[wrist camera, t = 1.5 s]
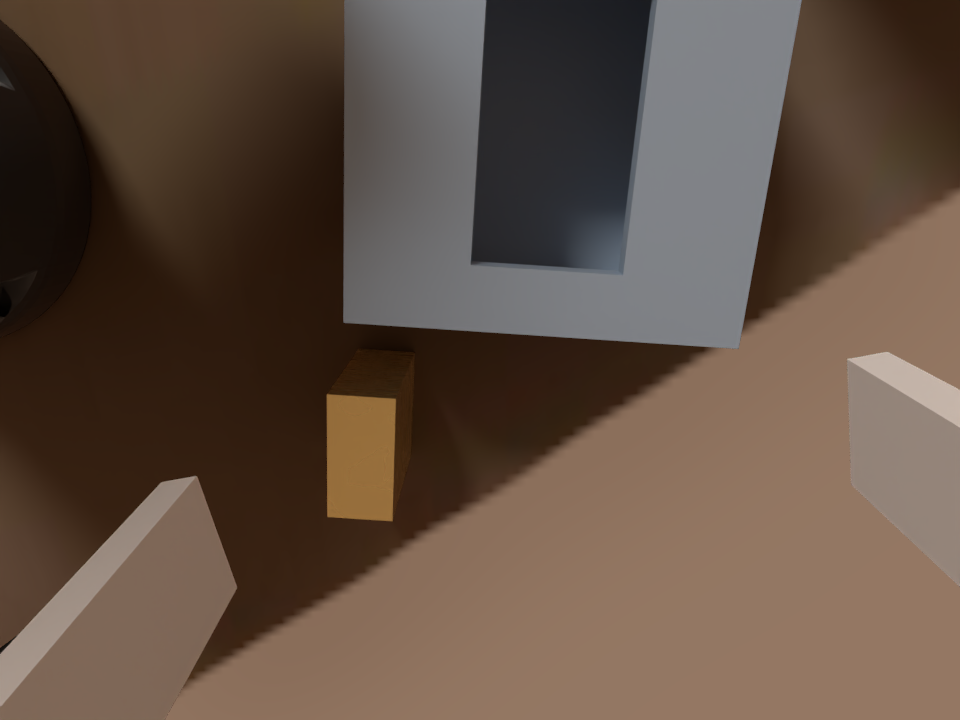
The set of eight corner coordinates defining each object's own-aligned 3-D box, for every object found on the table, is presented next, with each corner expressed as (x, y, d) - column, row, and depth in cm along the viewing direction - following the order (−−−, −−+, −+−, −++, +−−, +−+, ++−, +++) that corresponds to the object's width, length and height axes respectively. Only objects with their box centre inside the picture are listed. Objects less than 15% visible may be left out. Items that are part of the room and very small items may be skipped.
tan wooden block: (357, 451, 32) (327, 517, 26) (359, 348, 30) (326, 394, 25) (411, 454, 32) (392, 521, 26) (414, 352, 30) (395, 398, 25)
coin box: (388, 272, 29) (343, 322, 21) (395, -43, 26) (345, -140, 17) (667, 291, 29) (738, 349, 21) (713, -22, 26) (821, -110, 17)
